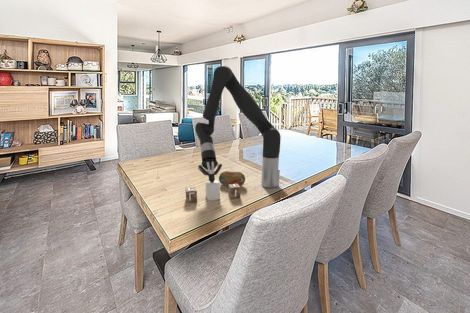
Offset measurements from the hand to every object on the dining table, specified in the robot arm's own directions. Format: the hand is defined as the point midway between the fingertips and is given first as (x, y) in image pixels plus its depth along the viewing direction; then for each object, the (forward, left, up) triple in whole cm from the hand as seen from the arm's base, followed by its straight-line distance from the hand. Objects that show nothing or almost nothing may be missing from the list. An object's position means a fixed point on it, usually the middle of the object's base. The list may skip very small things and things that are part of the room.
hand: (212, 181), depth 135 cm
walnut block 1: (-11, +1, -9) cm, 14 cm away
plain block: (0, 0, -9) cm, 9 cm away
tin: (-14, -15, -9) cm, 22 cm away
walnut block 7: (+11, +1, -9) cm, 14 cm away
